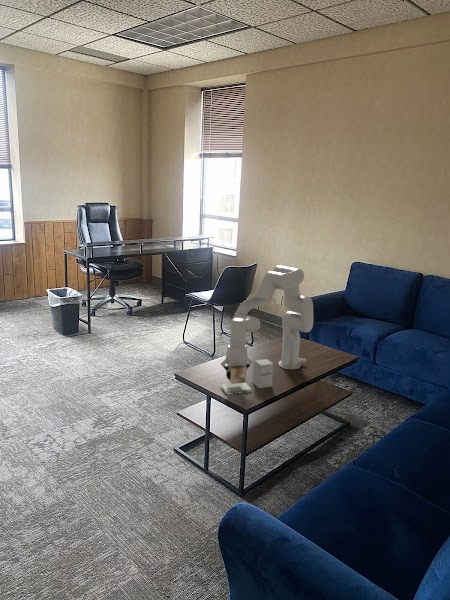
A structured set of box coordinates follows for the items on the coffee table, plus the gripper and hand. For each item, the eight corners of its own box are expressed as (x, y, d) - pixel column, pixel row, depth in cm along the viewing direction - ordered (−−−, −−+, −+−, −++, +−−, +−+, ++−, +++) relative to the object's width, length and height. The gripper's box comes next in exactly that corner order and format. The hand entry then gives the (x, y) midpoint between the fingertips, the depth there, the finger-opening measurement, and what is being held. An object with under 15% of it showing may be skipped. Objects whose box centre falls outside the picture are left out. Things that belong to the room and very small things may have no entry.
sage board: (245, 384, 238) (245, 381, 238) (251, 392, 230) (251, 389, 230) (220, 387, 235) (220, 384, 234) (226, 394, 226) (226, 391, 226)
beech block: (240, 376, 236) (240, 363, 234) (245, 382, 228) (246, 369, 227) (226, 377, 234) (227, 364, 232) (231, 383, 226) (232, 370, 225)
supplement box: (259, 389, 234) (260, 365, 231) (252, 383, 240) (253, 360, 237) (272, 386, 237) (273, 363, 234) (265, 381, 243) (266, 358, 240)
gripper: (251, 339, 233) (249, 373, 237) (218, 342, 227) (217, 376, 232) (257, 344, 226) (255, 379, 230) (222, 347, 220) (221, 382, 225)
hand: (236, 377), depth 231 cm, fingers closed on beech block, 7 cm apart
